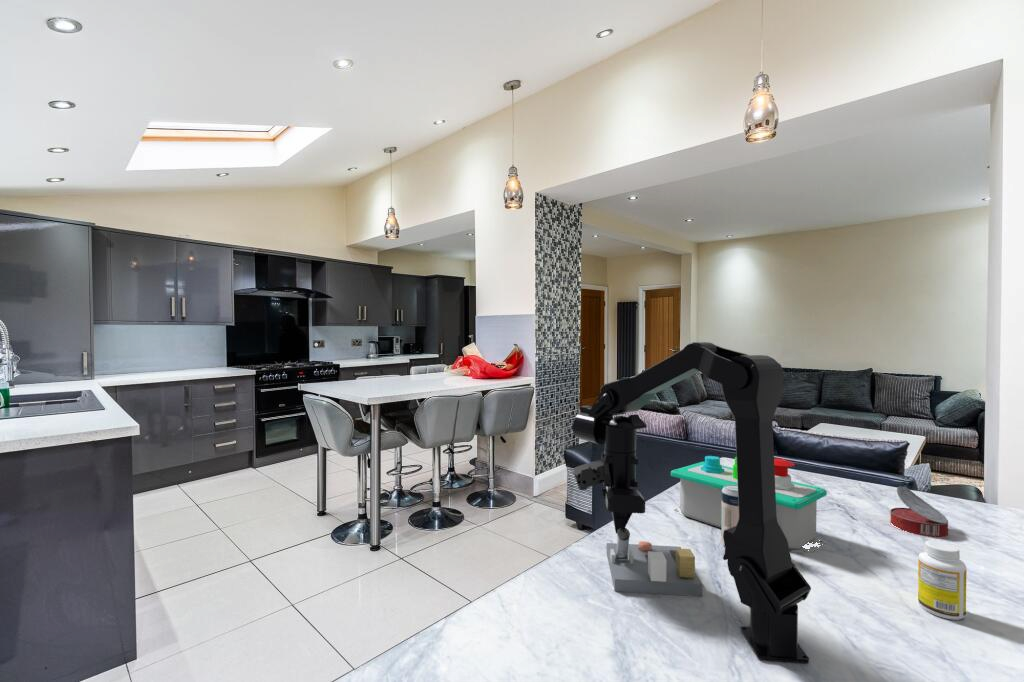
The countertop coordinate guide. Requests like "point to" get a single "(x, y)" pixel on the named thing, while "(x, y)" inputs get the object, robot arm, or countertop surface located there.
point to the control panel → (710, 477)
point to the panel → (635, 571)
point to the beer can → (729, 508)
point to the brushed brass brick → (685, 563)
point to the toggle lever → (622, 543)
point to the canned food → (918, 516)
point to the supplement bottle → (942, 581)
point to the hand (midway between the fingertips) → (618, 533)
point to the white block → (657, 566)
